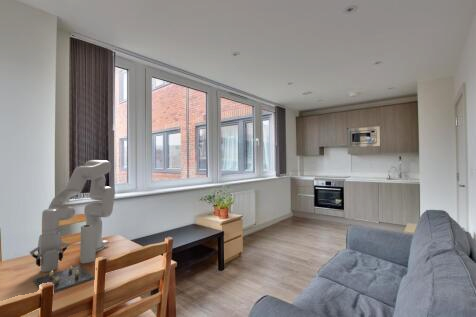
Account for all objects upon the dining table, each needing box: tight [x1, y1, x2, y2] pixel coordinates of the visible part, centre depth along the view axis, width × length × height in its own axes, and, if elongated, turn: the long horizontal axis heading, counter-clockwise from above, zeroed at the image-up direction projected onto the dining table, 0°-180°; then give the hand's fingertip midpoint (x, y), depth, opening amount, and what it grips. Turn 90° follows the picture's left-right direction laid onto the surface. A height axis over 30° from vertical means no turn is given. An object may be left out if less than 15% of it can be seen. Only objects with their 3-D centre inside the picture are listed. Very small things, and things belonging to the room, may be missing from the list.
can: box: [40, 248, 59, 273], centre depth 135 cm, size 8×8×12 cm
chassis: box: [33, 264, 95, 293], centre depth 125 cm, size 20×20×4 cm
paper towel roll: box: [79, 224, 97, 264], centre depth 146 cm, size 7×6×21 cm
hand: (49, 262), depth 135 cm, fingers open, 9 cm apart
